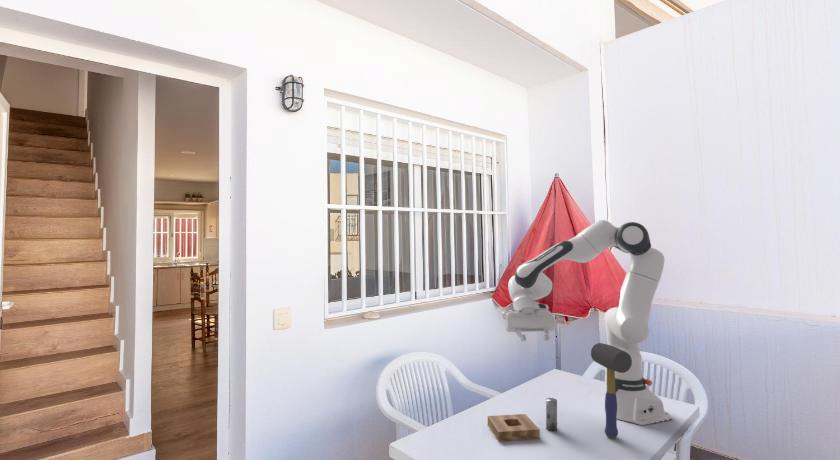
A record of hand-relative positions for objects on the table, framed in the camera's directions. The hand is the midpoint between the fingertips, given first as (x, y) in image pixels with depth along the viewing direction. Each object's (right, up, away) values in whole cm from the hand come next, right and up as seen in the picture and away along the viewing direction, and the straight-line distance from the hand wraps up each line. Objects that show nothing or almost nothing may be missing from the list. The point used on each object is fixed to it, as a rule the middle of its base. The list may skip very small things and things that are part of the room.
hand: (535, 340), depth 156 cm
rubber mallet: (+19, -27, -22) cm, 39 cm away
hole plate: (-13, -26, -18) cm, 34 cm away
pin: (+1, -26, -16) cm, 31 cm away
